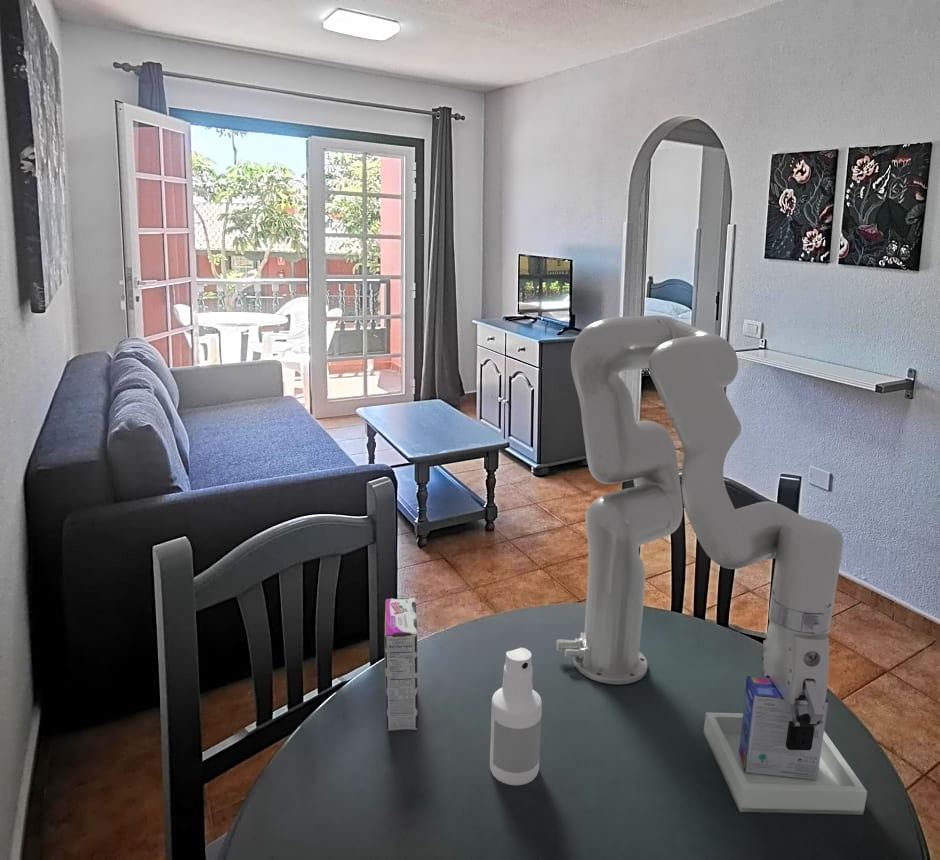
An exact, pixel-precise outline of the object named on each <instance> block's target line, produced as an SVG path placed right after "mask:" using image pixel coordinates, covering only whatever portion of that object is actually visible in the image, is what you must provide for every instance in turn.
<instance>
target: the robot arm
mask: <svg viewBox="0 0 940 860" xmlns="http://www.w3.org/2000/svg"><path fill="white" fill-rule="evenodd" d="M570 368H571V374H572V375H571V376H572V379H573V383H574V386H575V389H576V393H577V396H578V400H579V401H578V402H579V407H580V414H581V416H580V417H581V423H582V431H583V440H584V448H585V455H586V462H587V465H588V470H589V473H590V474H591V476H592V477H593V478H594V479H595V480H596V481H597V482H599V483H601V484H605V485H607V484H608V485H612V484H619V483H624V482H628V481H633V484H634V486H633V487H627V488H622V489H619V490H616V491H615V490H614V491H612V492H611V491H610V492H608V493H605V494H603V495H601V496H599V497H597V498H596V499H595V500H594V501H592V503H590V505H589V506H588V508H587V509H586V514H585V517H584V518H585V521H584V522H585V532H586V537H587V549H588V550H587V551H588V565H587V569H588V570H587V584H586V585H587V587H586V588H587V589H586V603H585V617H584V618H585V619H584V632H579V633H580V634H579V638H577V637H575V638H574V639H562V638H561V639H560V638H559V639H556V651H559V652H564V656H565V658H573V663H574V666H575V667H576V669H577V671H579V672H580V673H581V674H582V675H583V676H585V677H587V678H589V679H591V680H593V681H596V682H599V683H603V684H608V685H619V686H620V685H629V684H632V683H635V682H638V681H639V680H641V679H643V678H644V677H645V675H646V674H647V671H648V660H647V659H646V656H644V654H643V653H642V652H641V651H640V648H641V646H640V645H641V636H642V635H641V634H642V626H643V625H642V624H643V613H644V612H643V611H644V601H645V591H646V590H645V588H646V567H645V564H644V562H643V559H642V558H641V555H640V552H639V550H640V547H641V546H643V545H646V544H647V543H651V542H653V541H656V540H660V539H663V538H666V537H668V536H670V535H672V534H673V533H675V532H676V531H677V530H678V528H679V527H680V526H681V523H682V519H683V511H684V510H685V514H686V516H687V518H688V520H689V523H690V525H691V528H692V530H693V532H694V534H695V536H696V538H697V540H698V542H699V544H700V546H701V548H702V549H703V551H704V552H705V553H706V555H707V556H708V557H709V559H710V560H711V561H712V562H714V563H715V564H716V565H719V566H720V567H722V568H724V569H729V570H738V569H743V568H746V567H749V566H752V565H754V564H756V563H760V562H762V561H764V560H771V559H775V562H774V563H775V564H774V572H773V579H772V586H771V595H770V602H769V603H770V604H769V608H768V609H769V610H768V621H769V622H768V627H767V632H766V637H765V639H764V640H763V641H762V645H763V646H762V647H763V655H762V658H761V659H762V662H763V669H762V670H761V677H766V678H770V679H771V680H772V682H773V683H774V685H775V686H776V688H777V689H778V691H779V692H780V693H781V695H782V696H783V698H784V699H785V700H786V701H787V702H788V703H789V704H790V707H791V714H792V721H789V725H788V732H787V739H786V747H787V749H788V750H811V748H812V742H813V735H814V729H815V727H817V724H819V723H820V720H821V718H822V717H823V716H824V709H823V705H824V703H825V699H826V698H827V690H828V679H829V668H830V640H829V639H830V638H829V635H828V633H829V632H830V630H831V625H832V624H831V623H832V617H833V610H834V603H835V598H836V592H837V585H838V578H839V574H840V573H839V572H840V565H841V560H842V559H841V558H842V552H843V546H844V545H843V544H844V539H843V535H842V534H841V533H842V532H840V530H839V529H837V527H836V526H833V525H831V524H829V523H827V522H824V521H820V520H816V519H810V518H809V519H808V518H806V517H804V516H802V515H801V514H799V513H797V512H796V511H794V510H792V509H790V508H789V507H787V506H785V505H783V504H780V503H777V502H774V501H768V500H767V501H766V500H765V501H759V502H756V503H753V504H749V505H746V506H741V507H739V508H735V507H734V504H733V503H732V500H731V497H730V495H729V493H728V490H727V488H726V484H725V477H724V466H725V460H726V457H727V455H728V453H729V451H730V449H731V447H732V446H733V444H734V442H735V441H736V440H737V439H738V438H739V437H740V435H741V432H742V425H741V421H740V419H739V417H738V416H737V414H736V412H735V410H734V408H733V405H732V404H731V401H730V400H729V398H728V395H727V394H726V391H725V390H724V388H726V387H727V386H729V385H730V384H732V382H733V381H734V380H735V378H736V377H737V374H738V371H739V359H738V356H737V352H736V350H735V349H734V347H733V346H732V345H731V343H730V342H729V341H727V340H726V339H725V338H724V337H721V336H720V335H718V334H716V333H713V332H711V331H709V330H705V329H702V328H699V327H697V326H694V325H691V324H689V323H686V322H683V321H680V320H678V319H676V318H672V317H669V316H665V315H656V314H655V315H638V316H637V315H636V316H616V317H608V318H604V319H600V320H597V321H594V322H593V323H590V324H588V325H587V326H585V327H584V328H583V329H582V330H581V331H580V332H579V334H578V335H577V336H576V338H575V340H574V342H573V345H572V348H571V353H570ZM645 369H648V372H649V375H650V378H651V380H652V382H653V384H654V386H655V388H656V391H657V393H658V395H659V397H660V399H661V402H662V404H663V406H664V408H665V410H666V412H667V415H668V417H669V419H670V421H671V424H672V425H673V427H674V428H673V429H674V430H675V432H676V435H677V437H678V439H679V441H680V443H681V445H682V448H683V452H684V453H683V455H684V457H683V462H682V467H681V480H680V473H679V472H680V471H679V462H678V456H677V450H676V446H675V442H674V440H673V438H672V436H671V434H670V433H669V431H668V430H667V428H665V427H664V425H661V424H660V423H658V422H656V421H653V420H649V419H648V420H647V419H646V420H637V421H636V419H635V417H636V416H635V414H634V413H635V411H634V403H633V399H632V395H631V392H630V391H629V388H628V386H627V385H626V383H625V382H624V380H623V379H622V378H621V377H620V375H619V374H620V373H621V372H624V371H635V370H645ZM683 507H684V508H683ZM800 695H805V697H806V700H796V698H798V697H799V696H800ZM798 705H802V706H807V709H808V711H807V712H808V713H807V714H802V715H800V716H799V710H798Z"/></svg>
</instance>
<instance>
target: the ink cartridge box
mask: <svg viewBox="0 0 940 860" xmlns="http://www.w3.org/2000/svg"><path fill="white" fill-rule="evenodd" d="M745 679H746V681H745V692H744V693H745V694H744V700H743V701H744V703H743V712H742V713H743V720H742V729H741V737H740V746H739V755H740V758H741V762H742V765H743V769H744V771H745V772H747V773H756V774H766V775H776V776H786V777H795V778H805V779H814V780H816V779H817V777H818V770H819V762H820V755H821V749H822V742H823V735H824V731H825V728H826V721H827V714H828V708H829V699H828V698H827V697H826V699H825V703H824V705H823V709H824V716H823V717H822V718H821V720H820V723H819V724H817V727H815V729H814V735H813V742H812V748H811V750H788V749H787V747H786V739H787V732H788V725H789V721H792V714H791V707H790V704H789V703H788V702H787V701H786V700H785V699H784V698H783V696H782V695H781V693H780V692H779V691H778V689H777V688H776V686H775V685H774V683H773V682H772V680H771V679H770V678H766V677H762V676H750V675H747V676H746V678H745ZM796 700H806V697H805V695H800V696H799V697H798V698H796ZM798 710H799V716H800V715H802V714H807V713H808V712H807V711H808V709H807V706H802V705H798Z"/></svg>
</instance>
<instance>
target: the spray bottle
mask: <svg viewBox="0 0 940 860" xmlns="http://www.w3.org/2000/svg"><path fill="white" fill-rule="evenodd" d="M533 673H534V672H533V665H532V652H531V651H530V649H529V650H528V649H527V648H525V647H519V648H516V649H512V650H508V651H506V653H505V663H504V666H503V679H502V687H500V688H499V689H498V690H495V692H494V693H493V695H492V697H491V718H490V719H491V720H490V746H489V747H490V748H489V750H490V752H489V770H490V772H491V774H492V776H493V777H494V778H495V779H496V780H497V781H499V782H500V783H503V784H505V785H508V786H509V785H510V786H522V785H528V784H529V783H531V782H533V781H534V779H536V777H537V776H538V774H539V770H540V753H541V737H542V736H541V735H542V733H541V731H542V715H543V713H542V712H543V702H542V698H541V696H540V694H539V693H538V692H537V691H536V690H534V689H533V688H534V684H533Z"/></svg>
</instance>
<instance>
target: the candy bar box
mask: <svg viewBox="0 0 940 860" xmlns="http://www.w3.org/2000/svg"><path fill="white" fill-rule="evenodd" d="M384 602H385V603H384V604H385V608H384V675H385V679H384V681H385V713H386V730H387V731H388V732H403V731H417V730H418V729H419V676H418V674H419V670H418V669H419V668H418V667H419V663H418V657H419V656H418V620H417V604H416V598H415V597H410V598H409V597H408V598H407V597H404V598H403V597H402V598H400V597H397V598H394V597H393V598H387V599H385V601H384Z"/></svg>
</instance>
